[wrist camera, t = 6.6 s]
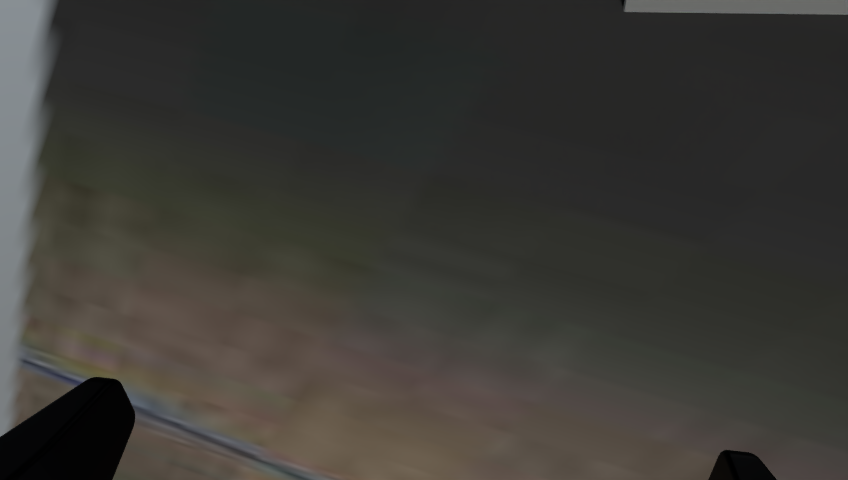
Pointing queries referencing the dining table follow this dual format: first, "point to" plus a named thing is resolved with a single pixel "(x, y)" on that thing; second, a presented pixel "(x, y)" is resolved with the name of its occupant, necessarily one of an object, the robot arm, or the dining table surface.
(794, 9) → the white flat tray
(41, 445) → the robot arm
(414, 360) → the dining table surface
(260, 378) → the dining table surface
